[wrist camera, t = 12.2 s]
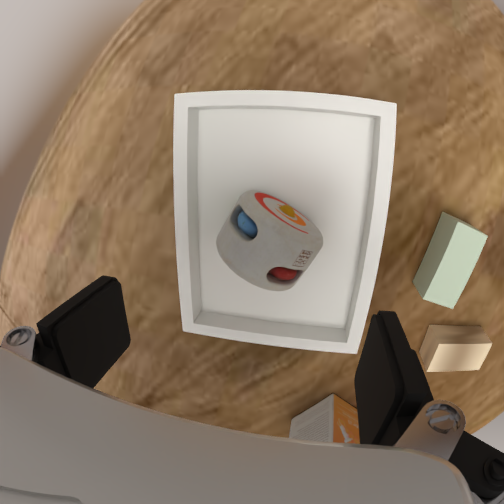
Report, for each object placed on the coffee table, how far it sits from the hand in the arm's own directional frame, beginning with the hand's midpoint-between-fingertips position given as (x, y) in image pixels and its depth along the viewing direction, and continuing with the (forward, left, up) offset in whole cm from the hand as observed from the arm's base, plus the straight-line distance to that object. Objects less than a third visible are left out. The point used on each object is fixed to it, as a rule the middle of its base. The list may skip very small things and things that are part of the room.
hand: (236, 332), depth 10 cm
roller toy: (0, 0, -12) cm, 12 cm away
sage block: (0, -13, -13) cm, 18 cm away
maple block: (-8, -17, -13) cm, 23 cm away
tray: (+1, 0, -13) cm, 13 cm away
